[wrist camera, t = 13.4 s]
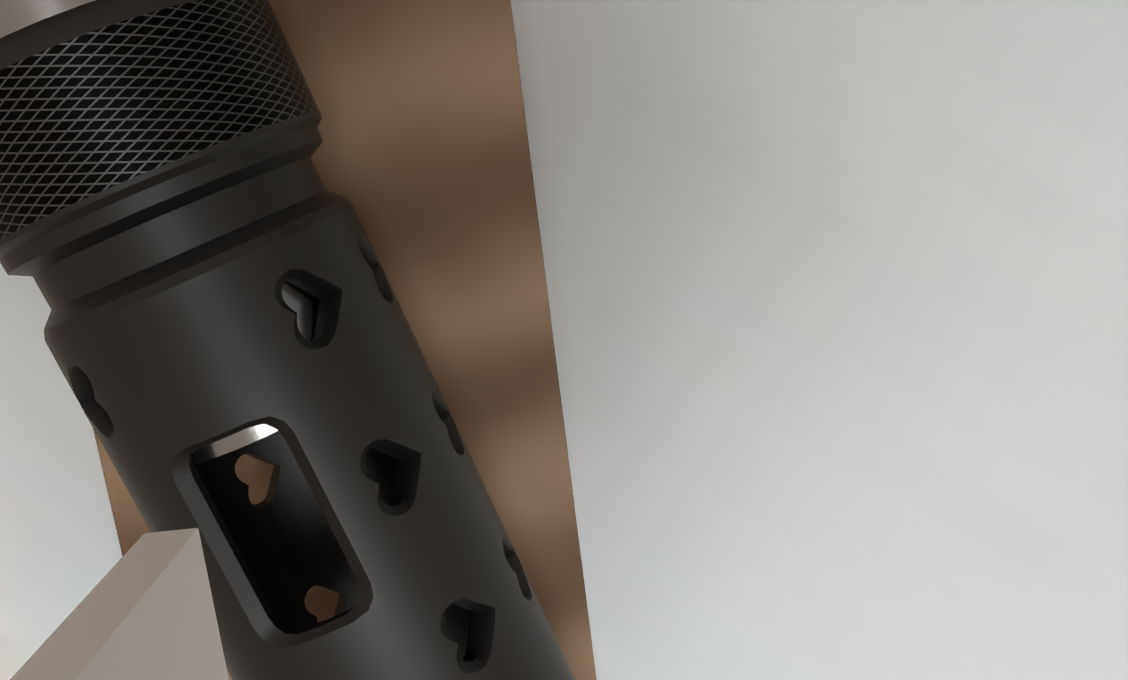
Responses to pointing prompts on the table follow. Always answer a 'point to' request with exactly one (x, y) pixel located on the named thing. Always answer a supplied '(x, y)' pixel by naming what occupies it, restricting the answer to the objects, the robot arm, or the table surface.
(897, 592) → the table surface
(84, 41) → the muzzle brake
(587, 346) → the table surface
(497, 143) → the mounting board
